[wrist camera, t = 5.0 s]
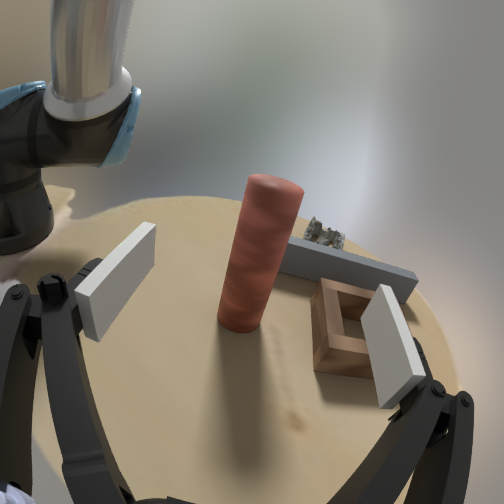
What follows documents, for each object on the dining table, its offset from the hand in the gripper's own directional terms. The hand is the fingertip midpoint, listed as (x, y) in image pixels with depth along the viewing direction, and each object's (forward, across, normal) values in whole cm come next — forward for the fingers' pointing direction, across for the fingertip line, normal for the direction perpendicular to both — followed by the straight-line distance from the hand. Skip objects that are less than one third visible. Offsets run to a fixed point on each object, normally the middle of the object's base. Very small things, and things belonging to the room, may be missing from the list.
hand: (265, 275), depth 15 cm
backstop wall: (+24, +14, -14) cm, 31 cm away
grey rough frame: (+34, +12, -14) cm, 39 cm away
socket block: (+12, +14, -14) cm, 23 cm away
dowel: (+11, 0, -14) cm, 18 cm away
